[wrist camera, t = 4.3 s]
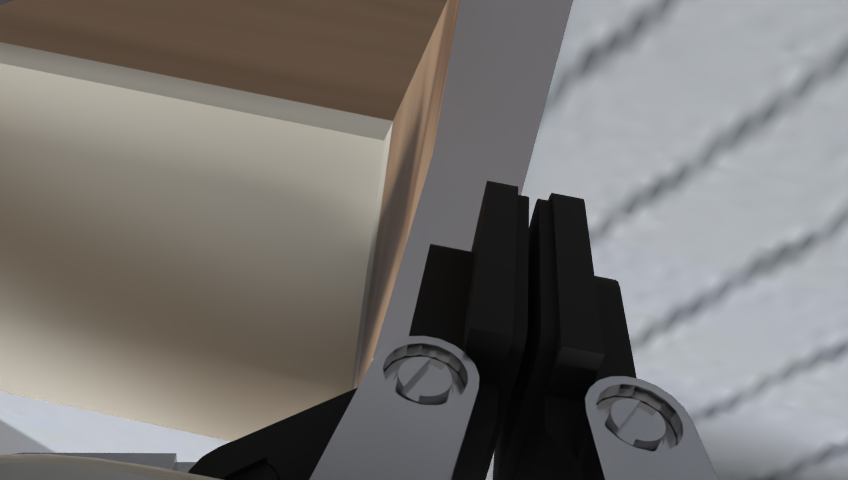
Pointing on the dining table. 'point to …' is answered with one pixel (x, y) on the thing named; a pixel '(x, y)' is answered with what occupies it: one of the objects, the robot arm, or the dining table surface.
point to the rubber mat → (478, 130)
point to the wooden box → (208, 198)
